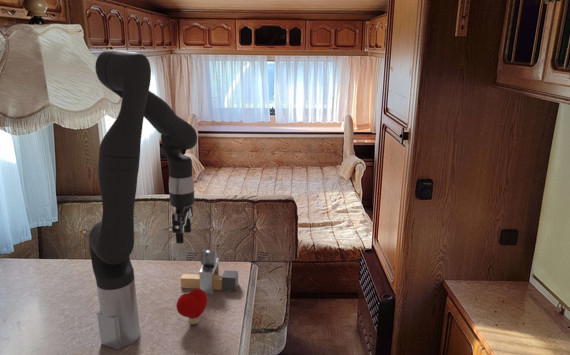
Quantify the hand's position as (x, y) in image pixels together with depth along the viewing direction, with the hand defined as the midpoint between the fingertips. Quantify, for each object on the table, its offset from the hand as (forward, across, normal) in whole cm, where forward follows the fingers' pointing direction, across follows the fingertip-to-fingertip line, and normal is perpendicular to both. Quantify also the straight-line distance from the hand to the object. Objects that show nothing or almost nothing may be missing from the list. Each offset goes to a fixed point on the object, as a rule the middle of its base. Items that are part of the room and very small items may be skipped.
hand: (184, 237), depth 137 cm
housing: (+17, 0, -8) cm, 19 cm away
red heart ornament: (+18, -20, -8) cm, 28 cm away
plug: (+17, 0, -8) cm, 19 cm away
